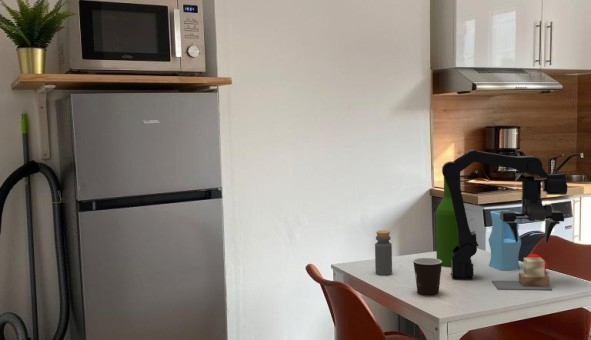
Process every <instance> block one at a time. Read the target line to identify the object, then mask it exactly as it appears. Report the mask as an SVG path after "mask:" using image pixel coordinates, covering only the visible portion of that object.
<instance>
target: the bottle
mask: <svg viewBox="0 0 591 340" xmlns="http://www.w3.org/2000/svg"><path fill="white" fill-rule="evenodd" d="M375 232H376V236H375V240H377V242H376V243H375V244H374V256H375V257H374V263H375V265H374V267H375V269H374V271H375V275H378V276H382V277H383V276H391V275H392V274H393V252H392V251H393V246H392V245H393V244H392V243H391V242H390V240H391V236H390V233H391V232H390V231H389V230H376V231H375Z"/></svg>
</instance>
